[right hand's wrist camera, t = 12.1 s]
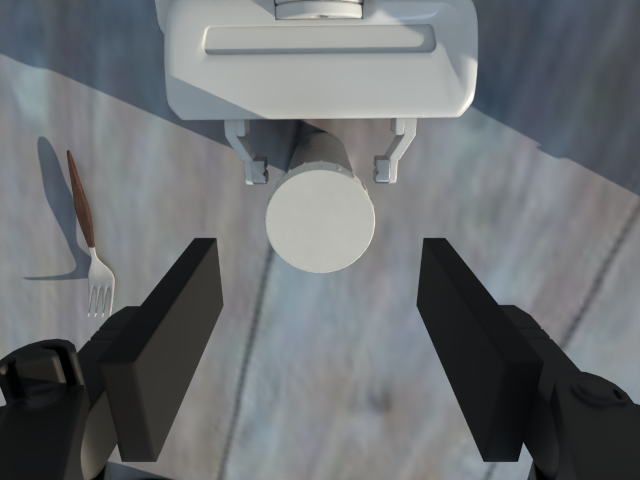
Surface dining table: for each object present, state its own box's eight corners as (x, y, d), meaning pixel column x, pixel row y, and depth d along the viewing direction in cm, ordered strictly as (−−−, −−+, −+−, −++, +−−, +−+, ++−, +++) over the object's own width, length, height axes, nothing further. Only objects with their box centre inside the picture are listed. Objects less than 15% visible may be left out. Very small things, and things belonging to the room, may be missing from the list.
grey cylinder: (319, 194, 36) (318, 280, 21) (282, 157, 35) (252, 219, 19) (357, 159, 35) (386, 222, 19) (321, 119, 34) (321, 153, 18)
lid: (318, 276, 22) (317, 293, 20) (247, 209, 21) (240, 221, 19) (392, 213, 21) (398, 226, 19) (322, 137, 19) (322, 143, 18)
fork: (86, 149, 34) (73, 153, 33) (121, 306, 40) (112, 317, 39) (57, 149, 34) (41, 153, 33) (96, 306, 40) (85, 317, 39)
